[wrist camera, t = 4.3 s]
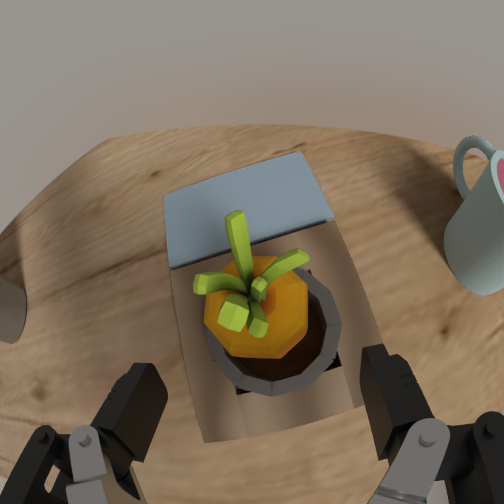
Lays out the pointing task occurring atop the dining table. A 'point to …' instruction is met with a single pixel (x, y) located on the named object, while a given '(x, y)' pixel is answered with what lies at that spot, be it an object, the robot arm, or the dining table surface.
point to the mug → (478, 223)
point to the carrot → (255, 298)
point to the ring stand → (291, 388)
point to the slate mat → (242, 207)
